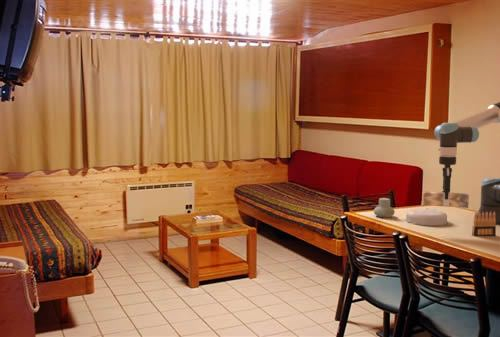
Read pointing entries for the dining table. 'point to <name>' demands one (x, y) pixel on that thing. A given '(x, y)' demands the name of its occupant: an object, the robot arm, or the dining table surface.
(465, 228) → the dining table surface
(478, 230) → the ammunition clip
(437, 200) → the mottled beige block
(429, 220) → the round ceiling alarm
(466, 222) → the dining table surface
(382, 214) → the air freshener
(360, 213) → the dining table surface
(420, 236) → the dining table surface
